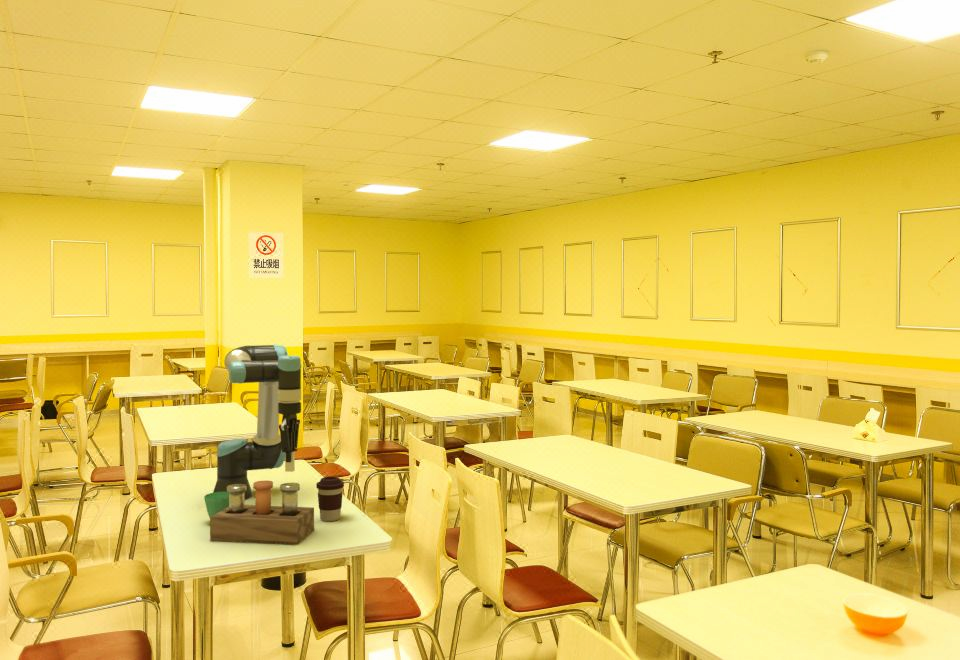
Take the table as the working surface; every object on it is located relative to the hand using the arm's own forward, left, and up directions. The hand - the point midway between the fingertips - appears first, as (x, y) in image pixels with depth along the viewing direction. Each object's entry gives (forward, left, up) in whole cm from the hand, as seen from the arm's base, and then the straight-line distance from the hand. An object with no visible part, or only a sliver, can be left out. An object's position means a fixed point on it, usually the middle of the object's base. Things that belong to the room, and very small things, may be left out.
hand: (289, 471), depth 244 cm
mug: (-14, -31, -23) cm, 41 cm away
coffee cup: (-22, +6, -23) cm, 32 cm away
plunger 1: (0, -19, -16) cm, 25 cm away
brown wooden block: (0, -10, -22) cm, 24 cm away
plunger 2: (0, 0, -15) cm, 15 cm away
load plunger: (0, -10, -15) cm, 18 cm away
